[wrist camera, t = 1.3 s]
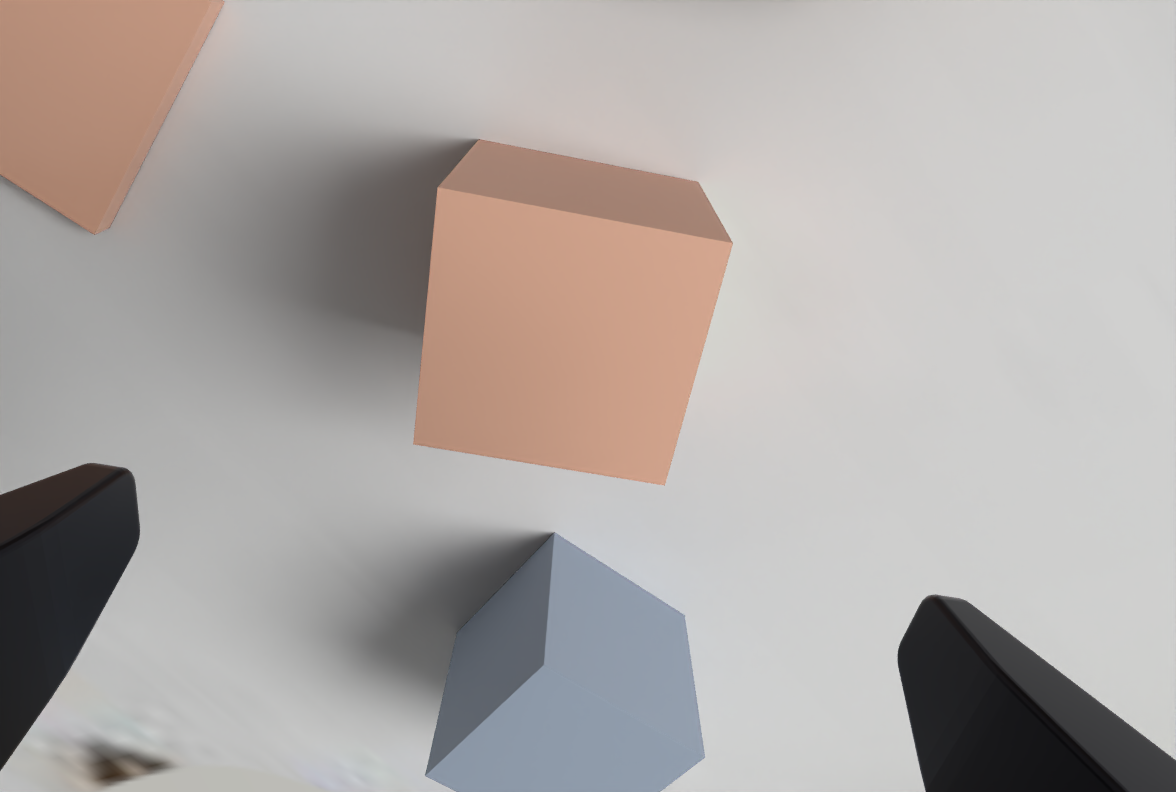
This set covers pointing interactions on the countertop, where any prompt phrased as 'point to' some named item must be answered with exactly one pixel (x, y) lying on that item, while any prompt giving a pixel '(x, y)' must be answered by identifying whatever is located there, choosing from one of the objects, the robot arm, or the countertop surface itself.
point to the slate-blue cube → (568, 686)
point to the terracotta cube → (566, 311)
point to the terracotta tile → (90, 94)
